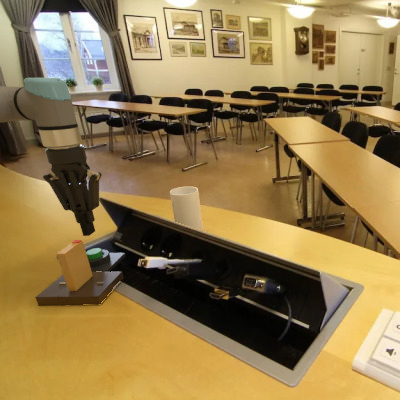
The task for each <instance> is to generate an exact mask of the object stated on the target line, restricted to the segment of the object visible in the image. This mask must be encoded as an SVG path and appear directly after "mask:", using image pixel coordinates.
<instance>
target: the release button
mask: <svg viewBox="0 0 400 400" xmlns="http://www.w3.org/2000/svg"><path fill="white" fill-rule="evenodd" d="M102 250H103V249H102V248H100V247H95V248H90V249H88V250H87V251H86V254H87V258H88V260H93V259H97V258H99V257H101V256H103V253H102Z"/></svg>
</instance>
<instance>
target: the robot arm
mask: <svg viewBox="0 0 400 400" xmlns="http://www.w3.org/2000/svg"><path fill="white" fill-rule="evenodd" d="M23 85H24V86H3V85H0V124H1V123H9V122H17V121H35V124H36V126H37V129H38V133H39V136H40V140H41V143H42V146H43V147H45V150H44V153H45V155H46V158H47V162H48V163H49V164H50V165H51V168H50V170H51V171H49V172H48V173H46V174H44V175H42V178H43V179H44V181H46V182H47V183H48V185H49V186H50V187H51V189H52V192H54V194H55V196H56V198H57V200H58V202H59V204H60V205H61V207H62V209H63V210H64V211H71V212H72V213H73V215H74V218H75V222H76V223H77V224H79V226H80V229H81V233H82V236H83V237H89V236H91V235H92V234H94V233H95V232H96V228H95V224H94V222H95V220H96V218H95V215H94V212H93V210H95V209H97V208H98V207H100V180H101V178H102V175H103V174H102V173H101V171H100V172H99V171H97V172H96V171H94V170H91V167H90V165H89V164H88V162H87V159H88V158H87V154H86V149H85V146H84V145H82V143H83V138H82V135H81V131H80V128H79V125H78V121H77V117H76V114H75V109H74V104H73V100H72V95H71V92H70V90H69V88H68V84H67V82H66V80H64V79H63V78H61V77H25V78H24V79H23Z"/></svg>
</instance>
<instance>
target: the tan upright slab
mask: <svg viewBox="0 0 400 400" xmlns="http://www.w3.org/2000/svg"><path fill="white" fill-rule="evenodd" d="M86 252H87V251H86V247H85V244H84V241H83V240H81V239H75V240H73V241H72V242H71V243H69V244H68V245H66V246H65V247H64V248H62V249H61V250H59V251H58V252H57V253H56V256H57V257H56V258H57V260H58V263H59V265H60V268H61V273H62V275H64V278H65V281H66V284H67V287H68V290H69V291H77V290H78V289H79V288H80V287H81V286H82V285H83V284H85V283H86V282H87V281H88V280H89V279H90V278H91V277H92V276H93V275H92V271H91V268H90V264H89V261H88V258H87V254H86Z"/></svg>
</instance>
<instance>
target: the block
mask: <svg viewBox="0 0 400 400" xmlns="http://www.w3.org/2000/svg"><path fill="white" fill-rule="evenodd" d="M101 250H102V253H103V256H101V257H99V258H97V259H93V260H88V261H89V264H90V268H91V271H92V272H96V271H102V272H110V271H111V270H112V269H113V270H114V269H115V268H116V267H117V266H118V265H119V264H120V263H121V262H122V261H123V260H124V259H125V258H126V256H127V255H126V252H110V251H109V250H107V249H101ZM113 270H112V271H113ZM112 271H111V272H112Z"/></svg>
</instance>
